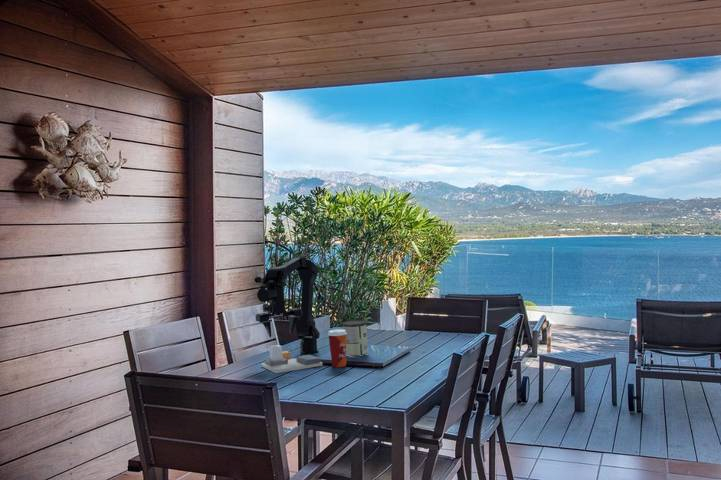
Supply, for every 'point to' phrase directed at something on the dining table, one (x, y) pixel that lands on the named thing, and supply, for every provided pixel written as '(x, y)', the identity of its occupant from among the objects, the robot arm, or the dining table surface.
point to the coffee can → (356, 337)
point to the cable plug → (286, 354)
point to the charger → (275, 353)
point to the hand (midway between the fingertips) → (280, 335)
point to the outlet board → (286, 365)
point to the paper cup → (338, 347)
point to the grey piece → (308, 359)
